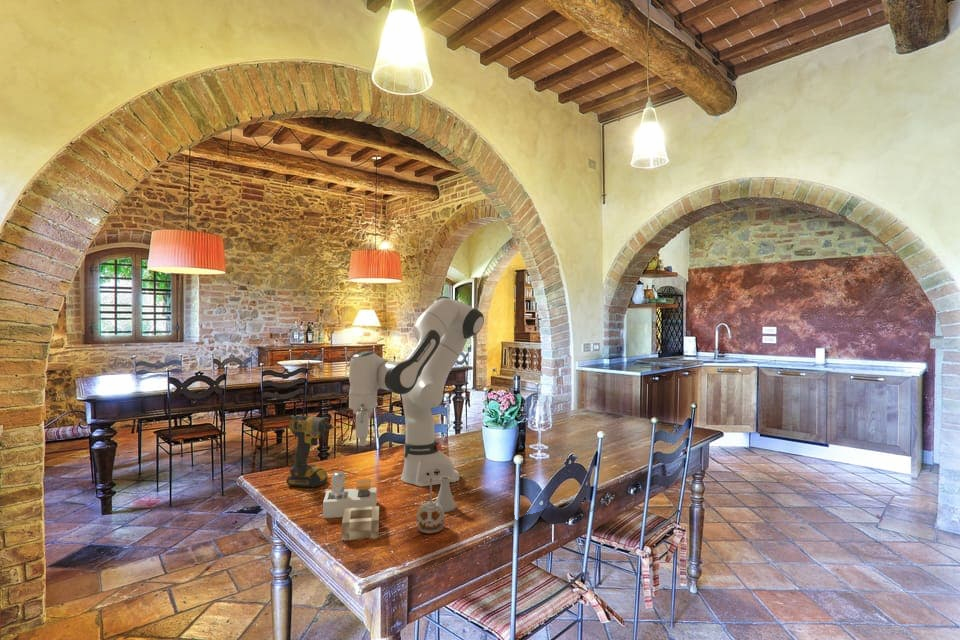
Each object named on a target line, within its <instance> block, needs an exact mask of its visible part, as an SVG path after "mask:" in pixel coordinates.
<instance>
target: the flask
mask: <svg viewBox="0 0 960 640" xmlns="http://www.w3.org/2000/svg"><path fill="white" fill-rule="evenodd" d="M440 480H441V484H440V488H439V491H438V494H437V497H436V500H435V503H439V505H441V507H442V509H443V511H444V513H449V512H452V511H453V512H454V511H455V509H456V508H457V504H456V502H455V500H454V497H453V494H452V491H451V486H450V483H449V480H450V477H445V476H444V477H441V478H440Z"/></svg>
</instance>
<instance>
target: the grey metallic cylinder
mask: <svg viewBox="0 0 960 640" xmlns="http://www.w3.org/2000/svg"><path fill="white" fill-rule="evenodd" d="M345 477H346V472H344V471H334V472H332V473H331V490H332V499H343V498H344V497H345V489H346V488H345V487H346V486H345V485H346V484H345V481H346V480H345Z"/></svg>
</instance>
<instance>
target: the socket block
mask: <svg viewBox="0 0 960 640" xmlns="http://www.w3.org/2000/svg"><path fill="white" fill-rule="evenodd" d="M377 490H378V489H377V486H376V487H371V488H370V489H369V497H359V490H356V488H347V489H346V488H345V497H344V498H343V499H332V489H327V490H326V492H325V495H324V498H323V502H322V519H333V518H343V515H344V510H345V508H358V507H372V506H377V497H378V496H377V495H378V494H377V492H378V491H377Z"/></svg>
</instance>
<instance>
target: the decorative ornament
mask: <svg viewBox="0 0 960 640" xmlns="http://www.w3.org/2000/svg"><path fill="white" fill-rule="evenodd" d="M435 502H436V500H435V501H433V485H432V478H430V485H429V501H426V502H424V503H423V504H421V505H420V506H419V508H418V510H417V512H416V522H417V525H416V529H418V530H417V531H419V532H421V533H425V534H434V533H438V532H440V531H442V530H443V529H444V528H445V523H443V522H444V521H445V512H444V511H443V509H442V507H441V505H439V503H435Z"/></svg>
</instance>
